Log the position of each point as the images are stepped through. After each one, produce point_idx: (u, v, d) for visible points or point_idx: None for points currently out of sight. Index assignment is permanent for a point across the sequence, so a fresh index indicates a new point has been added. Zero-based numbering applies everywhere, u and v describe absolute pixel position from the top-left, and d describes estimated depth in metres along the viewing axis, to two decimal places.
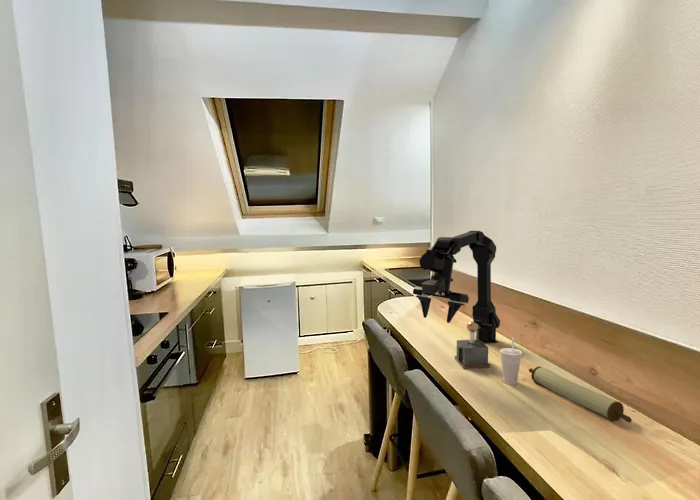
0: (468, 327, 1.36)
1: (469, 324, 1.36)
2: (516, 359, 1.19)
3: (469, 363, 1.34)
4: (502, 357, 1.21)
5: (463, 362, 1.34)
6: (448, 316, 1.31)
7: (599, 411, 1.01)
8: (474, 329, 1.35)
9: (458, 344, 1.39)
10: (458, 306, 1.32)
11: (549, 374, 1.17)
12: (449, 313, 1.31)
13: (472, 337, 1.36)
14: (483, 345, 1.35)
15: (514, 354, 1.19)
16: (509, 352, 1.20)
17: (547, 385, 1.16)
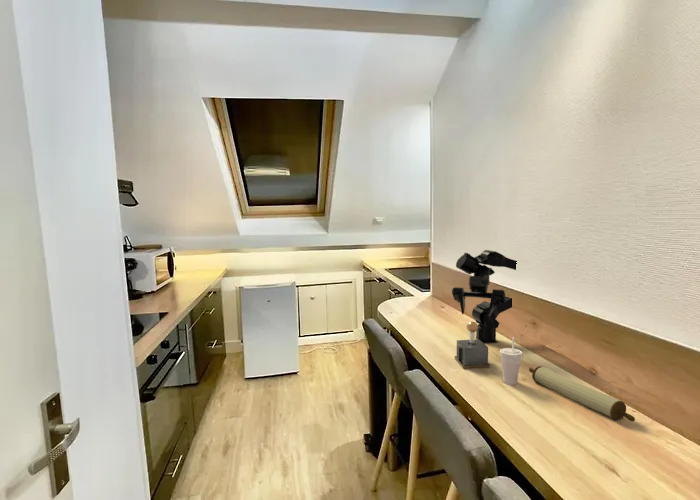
0: (468, 327, 1.36)
1: (469, 324, 1.36)
2: (516, 359, 1.19)
3: (469, 363, 1.34)
4: (502, 357, 1.21)
5: (463, 362, 1.34)
6: (489, 309, 1.46)
7: (602, 410, 1.02)
8: (474, 329, 1.35)
9: (458, 344, 1.39)
10: (496, 305, 1.49)
11: (550, 374, 1.17)
12: (491, 307, 1.46)
13: (472, 337, 1.36)
14: (483, 345, 1.35)
15: (514, 354, 1.19)
16: (509, 352, 1.20)
17: (548, 385, 1.16)
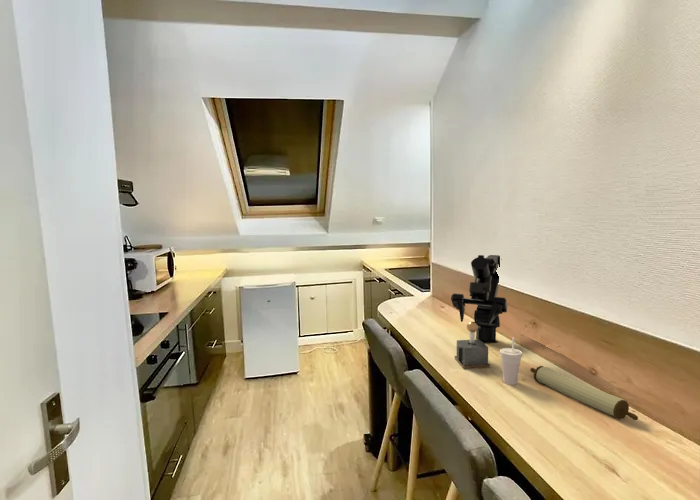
0: (468, 327, 1.36)
1: (469, 324, 1.36)
2: (516, 359, 1.19)
3: (469, 363, 1.34)
4: (502, 357, 1.21)
5: (463, 362, 1.34)
6: (490, 318, 1.38)
7: (605, 410, 1.02)
8: (474, 329, 1.35)
9: (458, 344, 1.39)
10: (497, 313, 1.41)
11: (552, 374, 1.17)
12: (491, 315, 1.38)
13: (472, 337, 1.36)
14: (483, 345, 1.35)
15: (514, 354, 1.19)
16: (509, 352, 1.20)
17: (550, 384, 1.17)
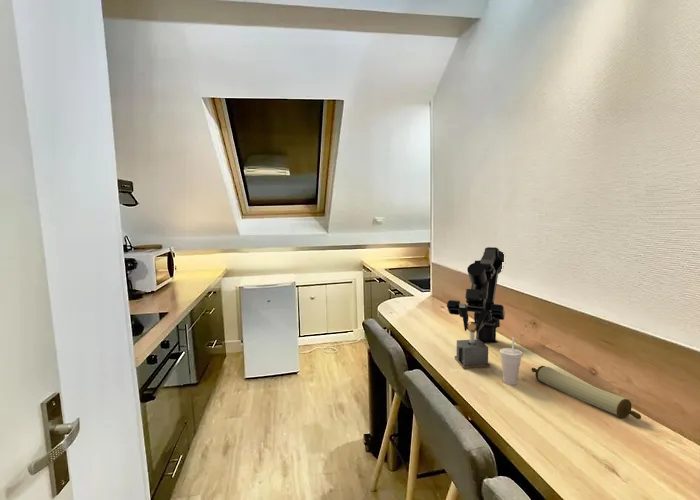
0: (468, 327, 1.36)
1: (469, 324, 1.36)
2: (516, 359, 1.19)
3: (469, 363, 1.34)
4: (502, 357, 1.21)
5: (463, 362, 1.34)
6: (479, 325, 1.35)
7: (608, 409, 1.02)
8: (474, 329, 1.35)
9: (458, 344, 1.39)
10: (486, 320, 1.38)
11: (554, 373, 1.18)
12: (480, 322, 1.35)
13: (472, 337, 1.36)
14: (483, 345, 1.35)
15: (514, 354, 1.19)
16: (509, 352, 1.20)
17: (552, 384, 1.17)
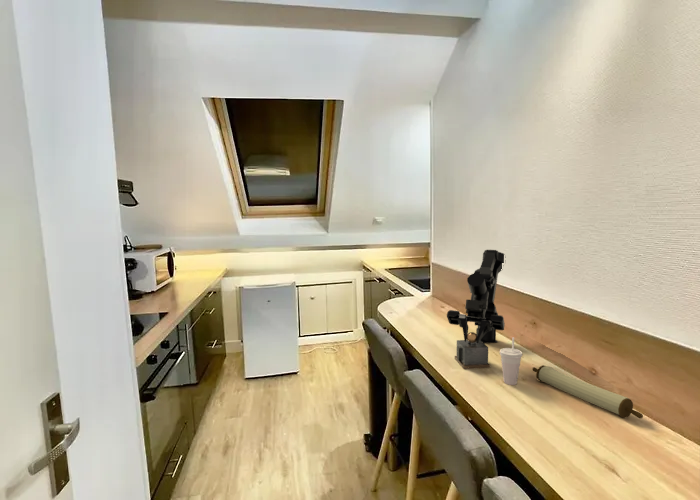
0: (468, 338, 1.36)
1: (469, 335, 1.36)
2: (516, 359, 1.19)
3: (469, 363, 1.34)
4: (502, 357, 1.21)
5: (463, 362, 1.34)
6: (478, 335, 1.35)
7: (609, 408, 1.03)
8: (474, 340, 1.35)
9: (458, 344, 1.39)
10: (486, 330, 1.38)
11: (555, 373, 1.18)
12: (480, 333, 1.35)
13: None
14: (483, 345, 1.35)
15: (514, 354, 1.19)
16: (509, 352, 1.20)
17: (553, 384, 1.17)
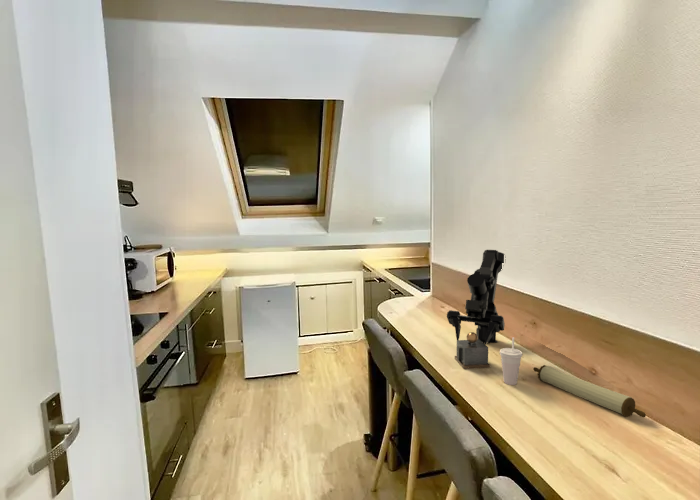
0: (468, 338, 1.36)
1: (469, 335, 1.36)
2: (516, 359, 1.19)
3: (469, 363, 1.34)
4: (502, 357, 1.21)
5: (463, 362, 1.34)
6: (487, 337, 1.34)
7: (612, 407, 1.03)
8: (474, 340, 1.35)
9: (458, 344, 1.39)
10: (494, 332, 1.37)
11: (556, 373, 1.18)
12: (488, 334, 1.34)
13: None
14: (483, 345, 1.35)
15: (514, 354, 1.19)
16: (509, 352, 1.20)
17: (555, 383, 1.17)
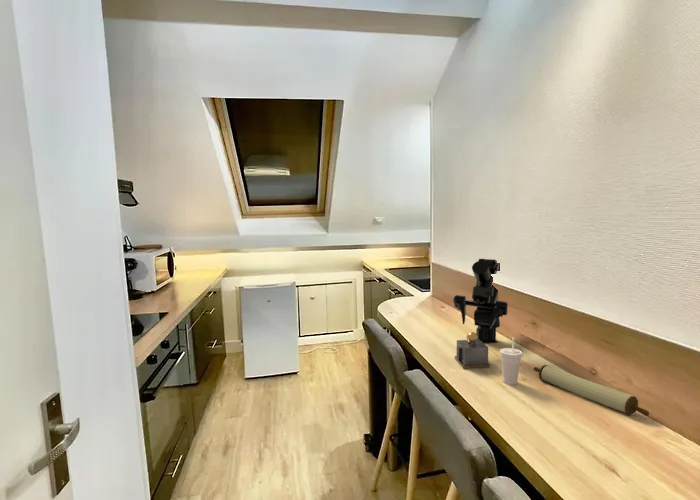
0: (468, 338, 1.36)
1: (469, 335, 1.36)
2: (516, 359, 1.19)
3: (469, 363, 1.34)
4: (502, 357, 1.21)
5: (463, 362, 1.34)
6: (491, 321, 1.43)
7: (615, 406, 1.04)
8: (474, 340, 1.35)
9: (458, 344, 1.39)
10: (497, 316, 1.46)
11: (558, 372, 1.18)
12: (493, 319, 1.43)
13: None
14: (483, 345, 1.35)
15: (514, 354, 1.19)
16: (509, 352, 1.20)
17: (557, 383, 1.17)
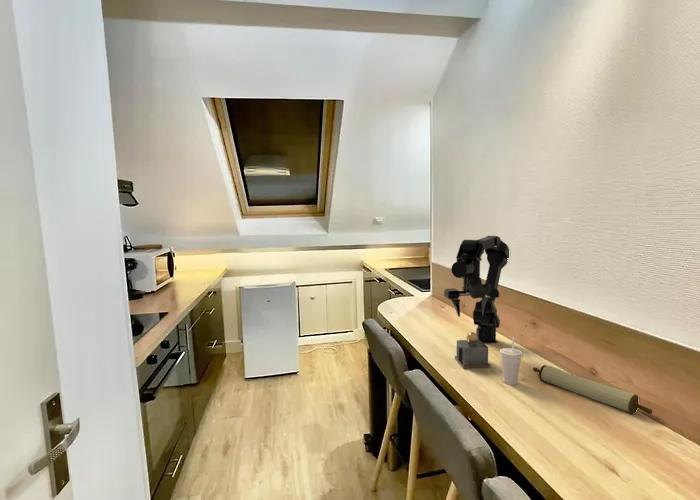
0: (468, 338, 1.36)
1: (469, 335, 1.36)
2: (516, 359, 1.19)
3: (469, 363, 1.34)
4: (502, 357, 1.21)
5: (463, 362, 1.34)
6: (485, 310, 1.48)
7: (618, 405, 1.04)
8: (474, 340, 1.35)
9: (458, 344, 1.39)
10: None
11: (558, 372, 1.18)
12: (486, 308, 1.48)
13: None
14: (483, 345, 1.35)
15: (514, 354, 1.19)
16: (509, 352, 1.20)
17: (557, 383, 1.17)
